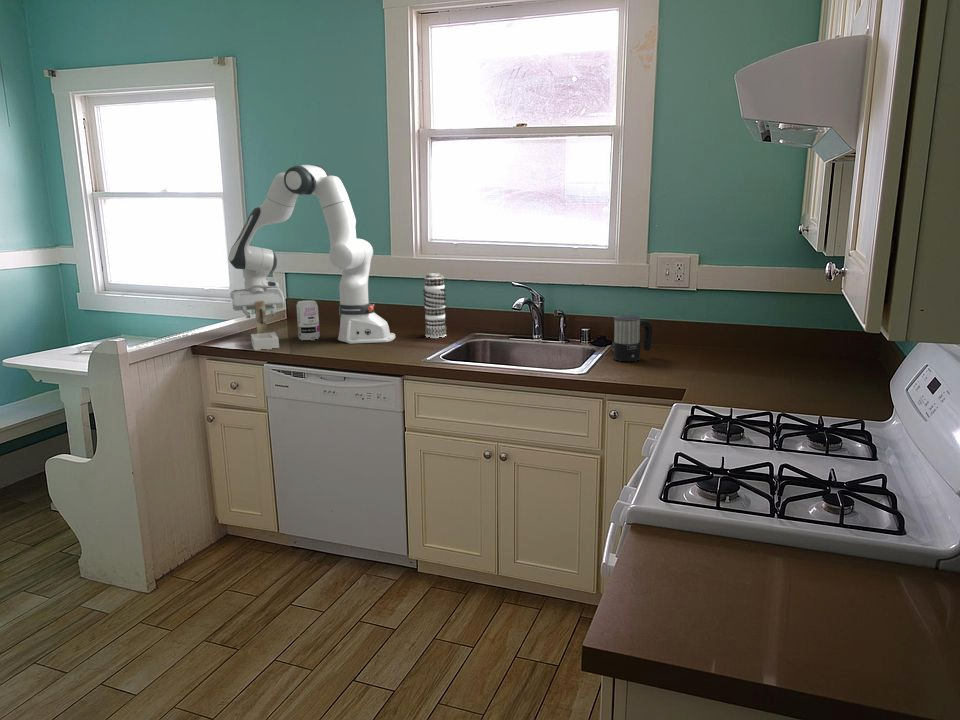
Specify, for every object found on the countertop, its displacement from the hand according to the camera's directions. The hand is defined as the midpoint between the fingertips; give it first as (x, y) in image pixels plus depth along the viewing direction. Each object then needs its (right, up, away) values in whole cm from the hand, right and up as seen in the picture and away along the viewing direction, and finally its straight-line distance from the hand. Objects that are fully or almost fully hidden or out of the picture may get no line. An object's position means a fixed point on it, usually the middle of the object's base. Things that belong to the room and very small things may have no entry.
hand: (260, 316), depth 300 cm
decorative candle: (+69, -8, +3) cm, 70 cm away
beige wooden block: (0, -9, +2) cm, 9 cm away
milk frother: (+137, -17, -37) cm, 143 cm away
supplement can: (+19, -9, +1) cm, 21 cm away
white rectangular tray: (+5, -12, -12) cm, 18 cm away
